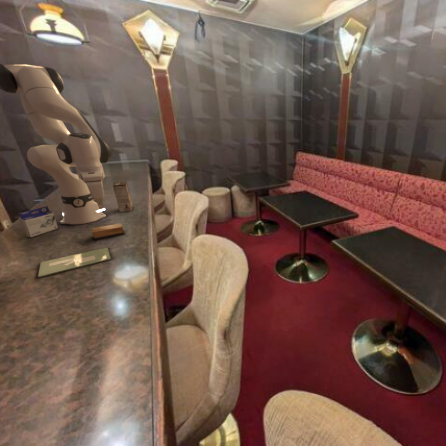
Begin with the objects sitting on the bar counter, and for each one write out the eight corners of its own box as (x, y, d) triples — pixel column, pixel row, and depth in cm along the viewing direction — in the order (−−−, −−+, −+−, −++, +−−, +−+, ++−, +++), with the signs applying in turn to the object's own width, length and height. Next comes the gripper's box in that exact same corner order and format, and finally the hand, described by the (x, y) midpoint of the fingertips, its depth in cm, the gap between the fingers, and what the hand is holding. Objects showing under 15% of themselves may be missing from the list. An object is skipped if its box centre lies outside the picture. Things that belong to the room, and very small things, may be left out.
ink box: (31, 237, 110) (21, 213, 106) (27, 237, 111) (17, 213, 106) (59, 228, 121) (51, 206, 117) (55, 227, 121) (47, 205, 117)
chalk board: (41, 263, 91) (40, 262, 91) (107, 248, 104) (107, 247, 104) (38, 277, 83) (37, 276, 83) (110, 259, 96) (110, 258, 95)
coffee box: (120, 207, 152) (113, 182, 146) (132, 206, 155) (126, 181, 149) (119, 212, 145) (112, 185, 139) (132, 210, 148) (126, 184, 142)
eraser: (94, 236, 114) (91, 228, 112) (122, 230, 121) (120, 223, 119) (94, 240, 110) (92, 232, 109) (124, 234, 117) (122, 226, 116)
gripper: (81, 171, 110) (90, 201, 115) (82, 178, 96) (92, 211, 101) (98, 170, 114) (106, 198, 119) (102, 176, 99) (111, 209, 104)
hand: (100, 204), depth 110 cm, fingers open, 8 cm apart
